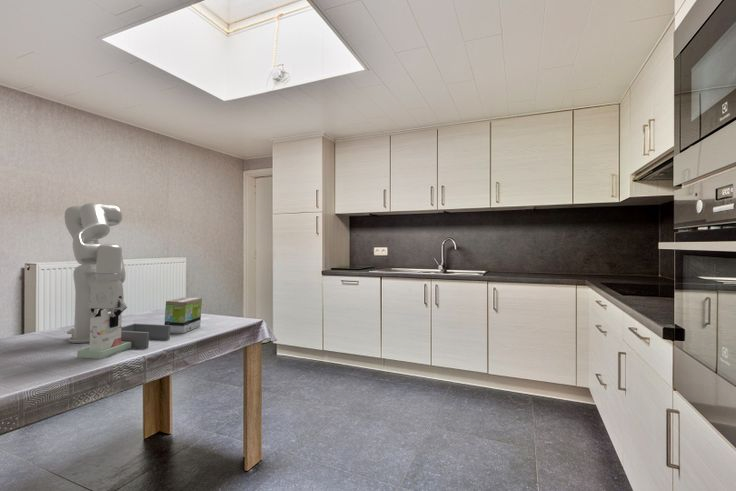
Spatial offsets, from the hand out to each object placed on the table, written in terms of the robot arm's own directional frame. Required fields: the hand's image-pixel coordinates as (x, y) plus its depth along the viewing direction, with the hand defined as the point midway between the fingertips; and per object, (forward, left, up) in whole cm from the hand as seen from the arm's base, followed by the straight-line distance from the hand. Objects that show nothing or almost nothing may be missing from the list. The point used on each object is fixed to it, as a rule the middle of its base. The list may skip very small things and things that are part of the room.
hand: (106, 326), depth 127 cm
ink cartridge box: (0, 0, -8) cm, 8 cm away
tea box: (+5, +38, -10) cm, 40 cm away
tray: (0, 0, -10) cm, 10 cm away
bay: (+2, +14, -10) cm, 18 cm away
